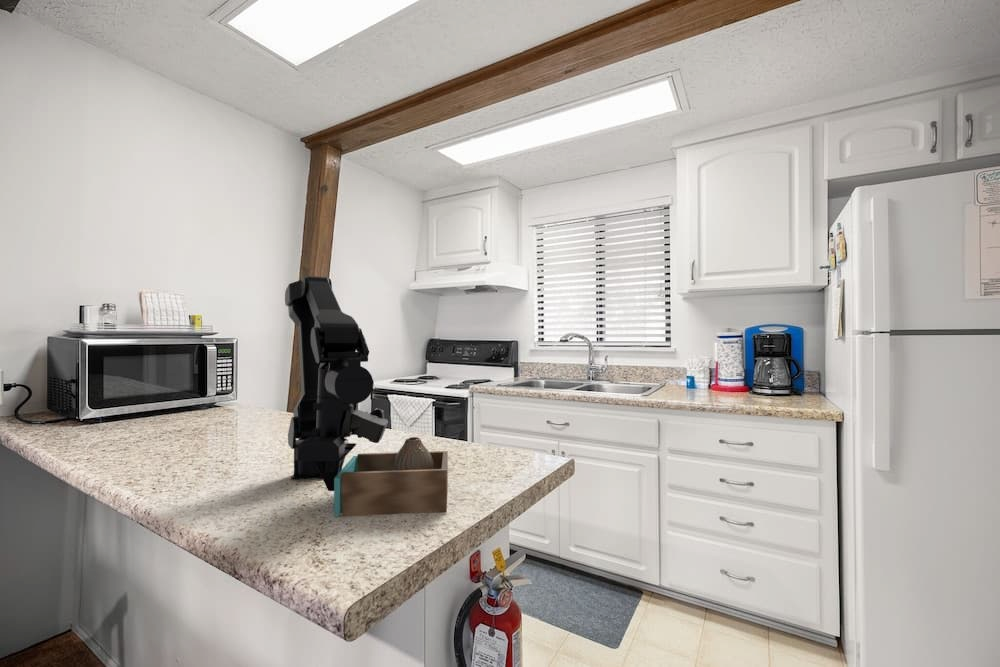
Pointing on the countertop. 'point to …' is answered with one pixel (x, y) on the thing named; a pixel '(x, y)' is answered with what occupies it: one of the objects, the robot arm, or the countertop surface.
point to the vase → (413, 456)
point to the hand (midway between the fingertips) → (332, 490)
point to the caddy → (394, 487)
